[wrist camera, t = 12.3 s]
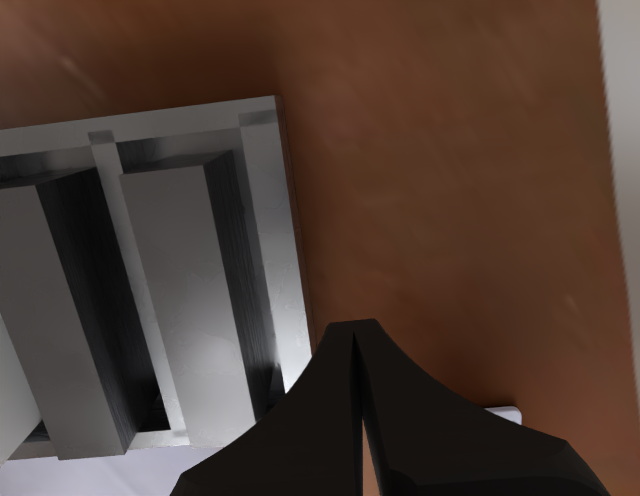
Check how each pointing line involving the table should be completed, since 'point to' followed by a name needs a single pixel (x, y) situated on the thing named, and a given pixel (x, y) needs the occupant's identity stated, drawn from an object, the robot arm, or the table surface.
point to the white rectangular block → (14, 399)
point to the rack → (153, 275)
